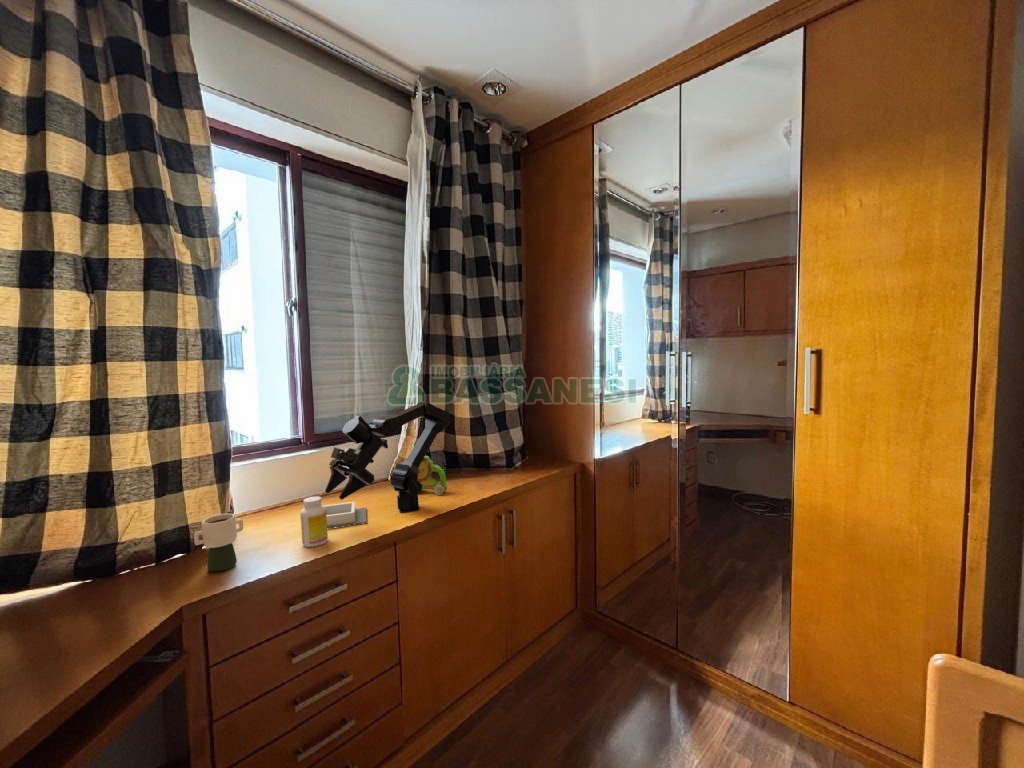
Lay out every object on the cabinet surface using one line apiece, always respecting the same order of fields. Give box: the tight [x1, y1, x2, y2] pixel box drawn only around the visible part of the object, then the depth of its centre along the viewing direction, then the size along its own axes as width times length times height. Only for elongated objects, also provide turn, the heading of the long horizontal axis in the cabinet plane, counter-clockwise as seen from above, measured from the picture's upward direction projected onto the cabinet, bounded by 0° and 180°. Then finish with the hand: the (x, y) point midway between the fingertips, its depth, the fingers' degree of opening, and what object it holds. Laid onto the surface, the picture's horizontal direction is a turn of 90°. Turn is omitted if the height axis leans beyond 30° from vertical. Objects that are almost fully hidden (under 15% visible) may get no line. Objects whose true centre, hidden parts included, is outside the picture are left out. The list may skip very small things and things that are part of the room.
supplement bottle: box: [299, 496, 329, 548], centre depth 122 cm, size 7×7×13 cm
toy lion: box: [417, 455, 448, 496], centre depth 164 cm, size 16×5×15 cm, turn 76°
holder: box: [323, 501, 367, 529], centre depth 139 cm, size 18×14×4 cm
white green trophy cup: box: [193, 513, 244, 572], centre depth 108 cm, size 11×7×13 cm, turn 145°
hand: (333, 495), depth 126 cm, fingers open, 9 cm apart
